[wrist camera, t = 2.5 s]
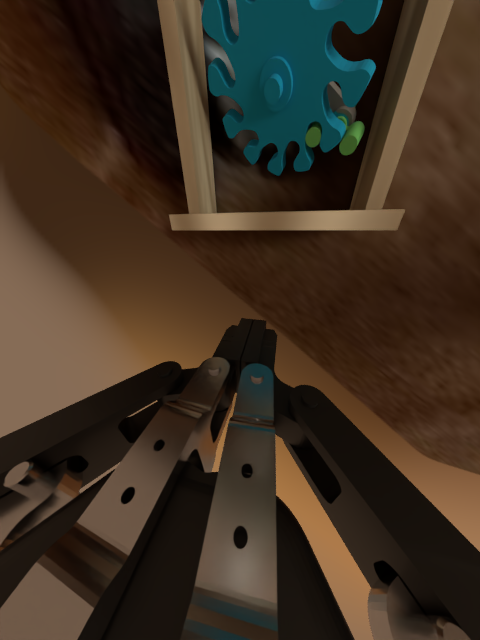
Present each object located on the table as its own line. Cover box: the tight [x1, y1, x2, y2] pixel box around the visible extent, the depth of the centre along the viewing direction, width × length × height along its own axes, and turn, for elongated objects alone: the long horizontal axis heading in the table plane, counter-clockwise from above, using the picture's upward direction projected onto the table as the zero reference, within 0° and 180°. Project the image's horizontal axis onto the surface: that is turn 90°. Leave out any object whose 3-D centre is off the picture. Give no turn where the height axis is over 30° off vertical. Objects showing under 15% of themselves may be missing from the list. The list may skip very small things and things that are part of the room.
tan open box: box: [157, 0, 454, 230], centre depth 11 cm, size 14×13×7 cm
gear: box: [202, 0, 383, 176], centre depth 11 cm, size 11×6×10 cm
